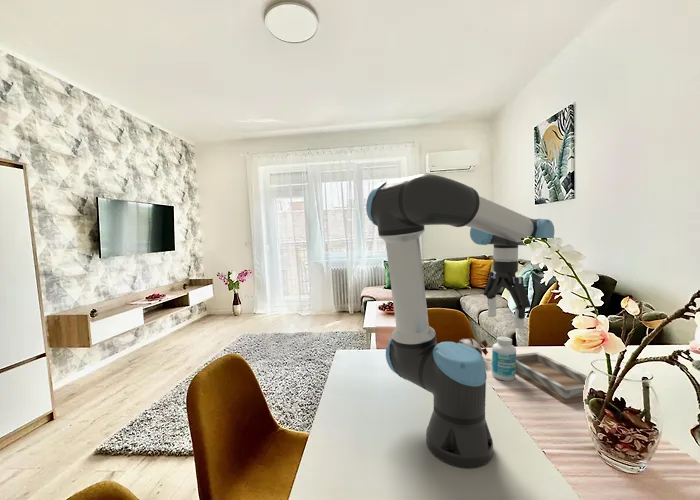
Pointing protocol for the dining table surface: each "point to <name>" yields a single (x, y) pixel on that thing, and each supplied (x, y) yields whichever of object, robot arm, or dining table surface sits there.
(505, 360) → the pill bottle
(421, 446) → the dining table surface
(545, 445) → the dining table surface
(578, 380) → the grey rimmed shallow tray
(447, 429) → the robot arm
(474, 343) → the decorative duck model
